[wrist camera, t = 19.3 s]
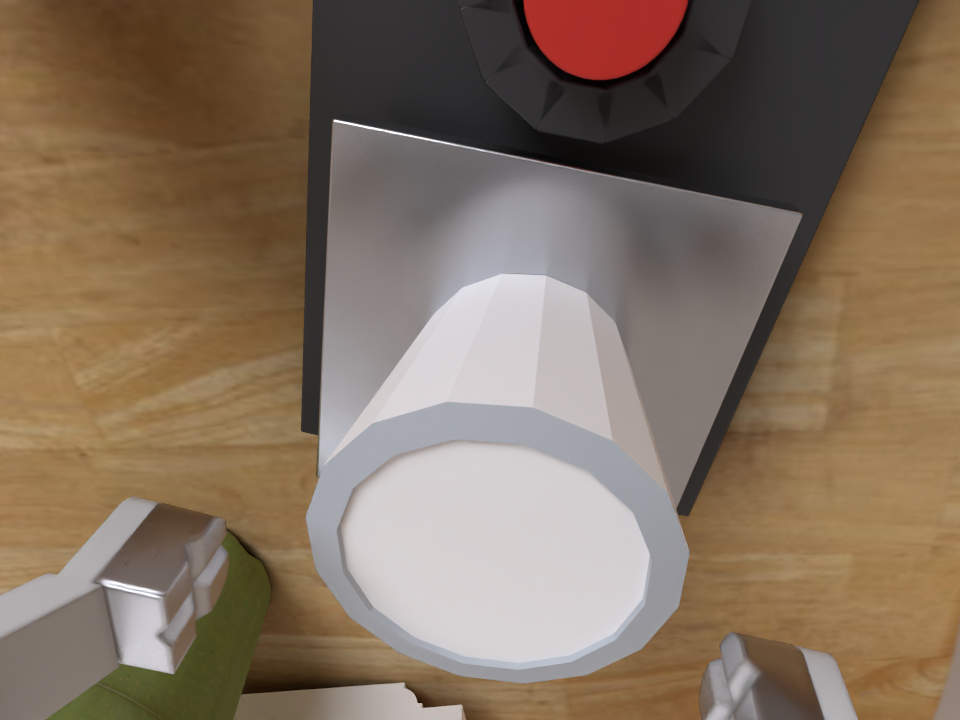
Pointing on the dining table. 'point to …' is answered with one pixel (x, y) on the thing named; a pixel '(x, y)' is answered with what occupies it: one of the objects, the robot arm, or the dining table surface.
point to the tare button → (603, 33)
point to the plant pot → (191, 660)
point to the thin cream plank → (343, 705)
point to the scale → (612, 114)
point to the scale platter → (541, 266)
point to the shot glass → (504, 494)
